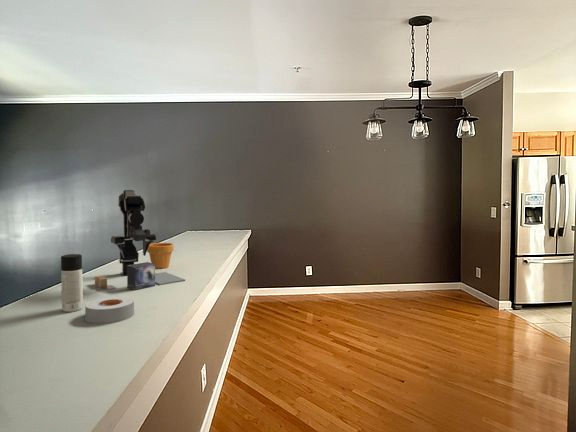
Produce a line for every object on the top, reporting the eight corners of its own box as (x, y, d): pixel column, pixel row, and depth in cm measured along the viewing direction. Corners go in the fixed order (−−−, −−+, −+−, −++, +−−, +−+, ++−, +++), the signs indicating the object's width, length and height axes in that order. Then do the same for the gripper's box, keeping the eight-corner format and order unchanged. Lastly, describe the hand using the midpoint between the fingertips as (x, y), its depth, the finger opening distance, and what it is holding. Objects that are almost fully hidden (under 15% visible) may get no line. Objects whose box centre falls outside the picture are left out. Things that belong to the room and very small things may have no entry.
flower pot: (146, 265, 214) (146, 243, 213) (171, 263, 220) (171, 242, 219) (148, 270, 201) (148, 246, 200) (175, 268, 207) (175, 245, 206)
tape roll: (89, 311, 133) (88, 298, 133) (134, 307, 139) (134, 294, 138) (82, 326, 119) (81, 311, 119) (133, 321, 124) (133, 306, 124)
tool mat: (140, 276, 187) (140, 275, 187) (165, 273, 196) (165, 271, 196) (159, 285, 171) (159, 283, 171) (185, 280, 180) (185, 279, 180)
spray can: (87, 307, 138) (86, 254, 137) (75, 312, 131) (73, 257, 130) (70, 306, 139) (69, 253, 137) (57, 312, 132) (56, 256, 131)
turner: (89, 285, 169) (89, 276, 169) (105, 282, 174) (105, 274, 174) (99, 291, 159) (98, 282, 159) (116, 288, 164) (115, 280, 164)
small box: (134, 290, 161) (134, 267, 160) (126, 288, 165) (126, 265, 164) (156, 286, 169) (155, 263, 169) (148, 283, 173) (147, 261, 172)
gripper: (119, 226, 156) (120, 262, 158) (161, 223, 169) (161, 257, 171) (110, 223, 164) (110, 258, 166) (150, 221, 177) (151, 253, 179)
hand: (134, 256), depth 170 cm, fingers open, 9 cm apart
